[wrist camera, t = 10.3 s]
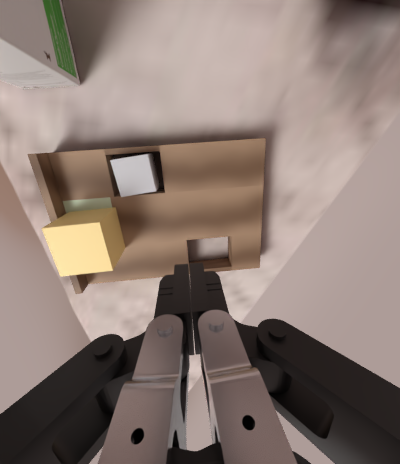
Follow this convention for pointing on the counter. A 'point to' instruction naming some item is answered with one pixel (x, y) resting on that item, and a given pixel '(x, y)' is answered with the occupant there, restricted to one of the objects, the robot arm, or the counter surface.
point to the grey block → (135, 174)
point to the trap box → (165, 204)
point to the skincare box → (35, 45)
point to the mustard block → (85, 241)
